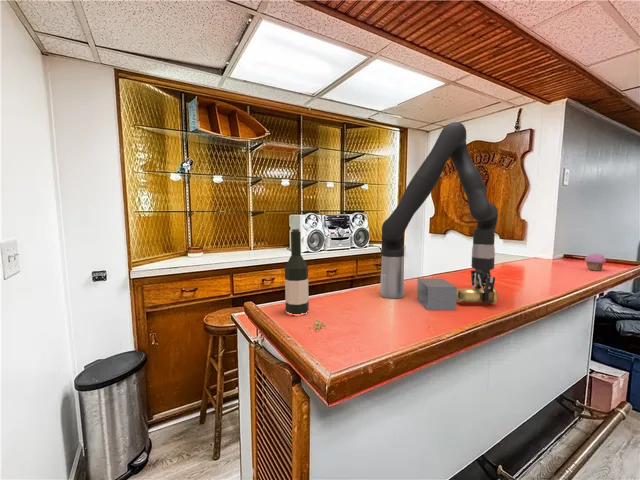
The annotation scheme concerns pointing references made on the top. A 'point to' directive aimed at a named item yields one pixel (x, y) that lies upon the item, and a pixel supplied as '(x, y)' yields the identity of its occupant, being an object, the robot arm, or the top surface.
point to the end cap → (474, 295)
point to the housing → (436, 294)
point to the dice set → (318, 324)
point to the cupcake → (595, 261)
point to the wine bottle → (296, 278)
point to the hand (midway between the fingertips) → (481, 300)
